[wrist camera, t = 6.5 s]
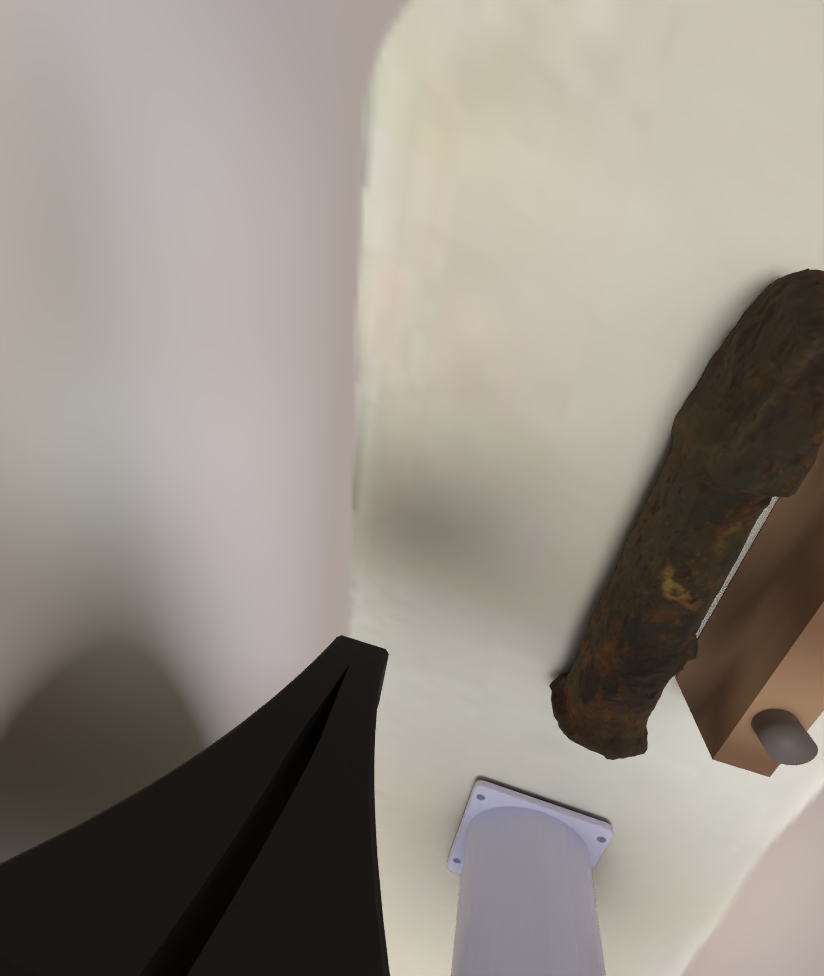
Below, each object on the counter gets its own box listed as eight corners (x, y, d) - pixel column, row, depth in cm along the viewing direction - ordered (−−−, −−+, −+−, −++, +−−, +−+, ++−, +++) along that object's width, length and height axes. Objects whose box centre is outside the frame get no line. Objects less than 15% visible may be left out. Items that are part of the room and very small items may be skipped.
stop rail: (720, 690, 19) (785, 805, 14) (675, 677, 19) (724, 785, 15) (916, 389, 13) (1121, 421, 9) (848, 376, 14) (1013, 402, 9)
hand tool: (624, 700, 21) (653, 795, 17) (546, 675, 21) (554, 761, 17) (862, 296, 13) (1027, 282, 9) (731, 271, 14) (829, 247, 10)
